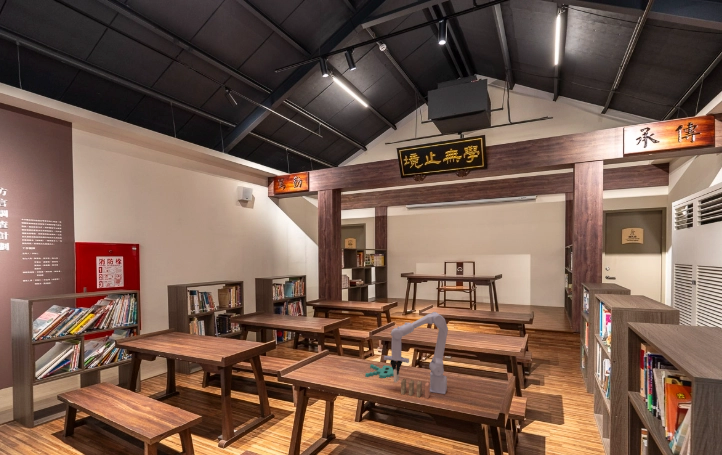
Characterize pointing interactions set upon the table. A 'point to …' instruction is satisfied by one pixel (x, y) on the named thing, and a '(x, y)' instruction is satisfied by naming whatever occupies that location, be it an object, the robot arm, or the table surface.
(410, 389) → the domino
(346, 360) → the table surface
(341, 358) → the table surface
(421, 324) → the robot arm
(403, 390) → the domino
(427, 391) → the domino
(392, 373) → the alien figure
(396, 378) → the white domino
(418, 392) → the domino
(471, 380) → the table surface
